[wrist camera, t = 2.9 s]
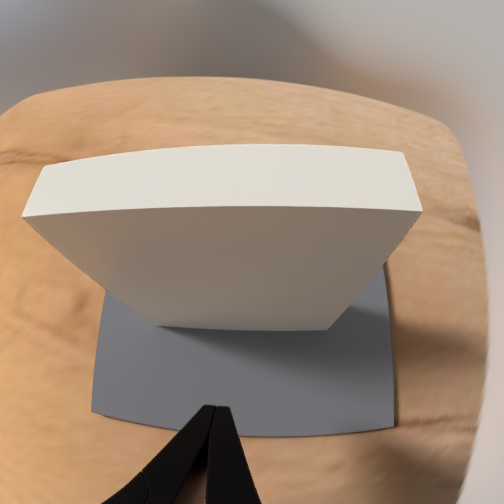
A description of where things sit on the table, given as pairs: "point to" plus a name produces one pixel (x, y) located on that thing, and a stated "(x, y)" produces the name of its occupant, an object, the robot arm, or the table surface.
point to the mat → (250, 371)
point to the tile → (230, 229)
